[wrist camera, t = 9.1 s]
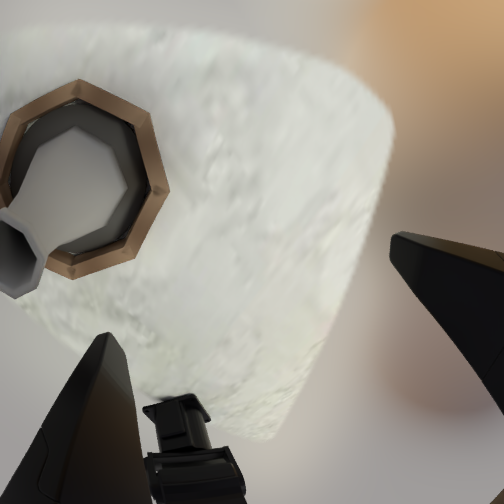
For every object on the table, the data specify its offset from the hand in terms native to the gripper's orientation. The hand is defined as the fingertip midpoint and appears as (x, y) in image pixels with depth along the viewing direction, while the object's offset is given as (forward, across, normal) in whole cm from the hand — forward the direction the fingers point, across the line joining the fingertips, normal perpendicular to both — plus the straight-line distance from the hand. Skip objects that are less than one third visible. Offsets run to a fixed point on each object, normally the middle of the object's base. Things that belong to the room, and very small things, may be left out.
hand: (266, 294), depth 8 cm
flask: (+12, +8, -3) cm, 15 cm away
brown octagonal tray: (+12, +8, -3) cm, 15 cm away
